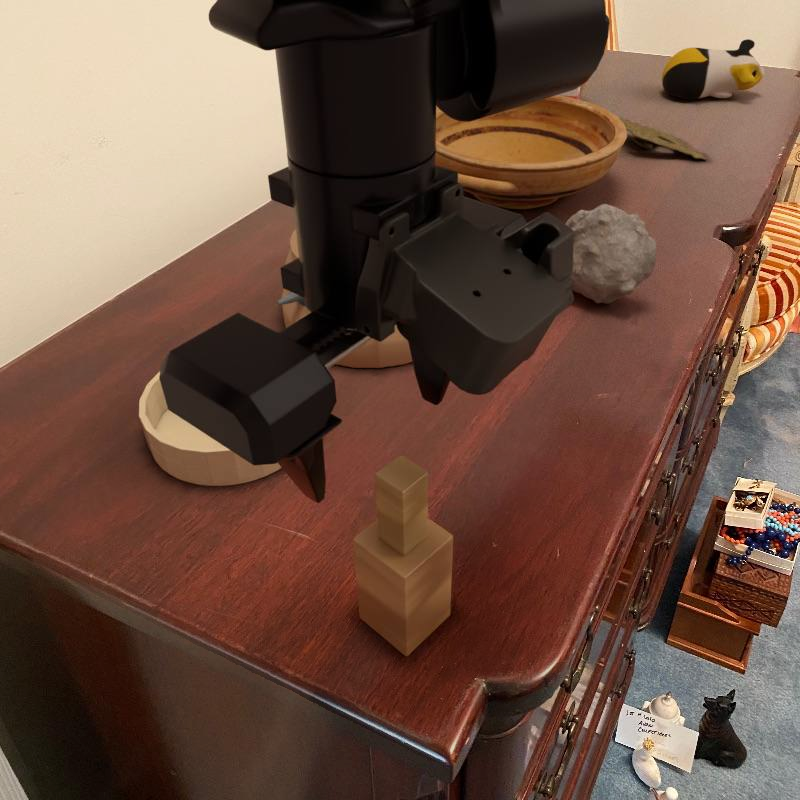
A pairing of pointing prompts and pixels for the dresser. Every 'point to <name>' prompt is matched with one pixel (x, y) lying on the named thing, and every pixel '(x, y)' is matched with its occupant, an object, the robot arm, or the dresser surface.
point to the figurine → (711, 72)
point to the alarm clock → (367, 355)
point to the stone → (610, 253)
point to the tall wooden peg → (402, 504)
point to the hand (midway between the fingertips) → (377, 446)
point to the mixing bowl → (191, 446)
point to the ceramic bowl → (530, 151)
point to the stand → (404, 585)
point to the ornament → (653, 135)
